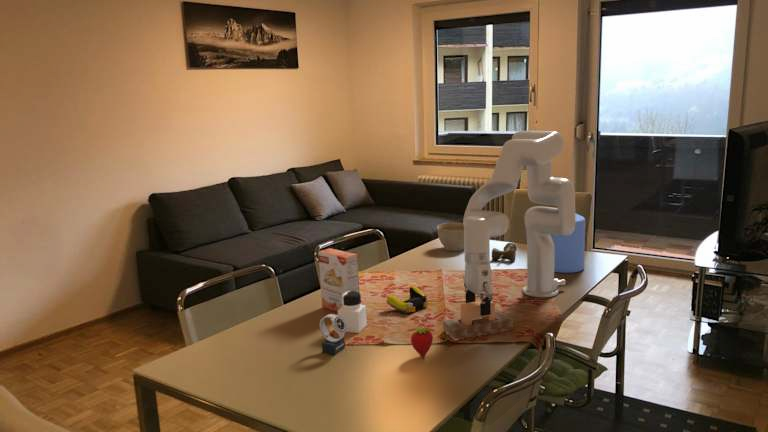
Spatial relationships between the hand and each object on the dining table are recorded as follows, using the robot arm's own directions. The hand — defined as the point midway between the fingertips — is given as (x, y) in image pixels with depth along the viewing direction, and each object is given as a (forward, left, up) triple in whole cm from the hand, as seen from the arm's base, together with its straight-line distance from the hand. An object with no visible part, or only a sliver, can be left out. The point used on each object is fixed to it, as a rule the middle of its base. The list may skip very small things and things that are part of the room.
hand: (477, 309), depth 191 cm
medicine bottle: (+35, -19, -7) cm, 41 cm away
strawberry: (+23, +10, -7) cm, 26 cm away
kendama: (-48, -66, -7) cm, 82 cm away
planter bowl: (-36, -91, -7) cm, 98 cm away
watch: (+45, -5, -7) cm, 46 cm away
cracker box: (+34, -37, -7) cm, 51 cm away
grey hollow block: (0, 0, -7) cm, 7 cm away
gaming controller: (+12, -29, -7) cm, 32 cm away
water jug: (-62, -43, -7) cm, 76 cm away
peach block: (0, 0, -7) cm, 7 cm away
